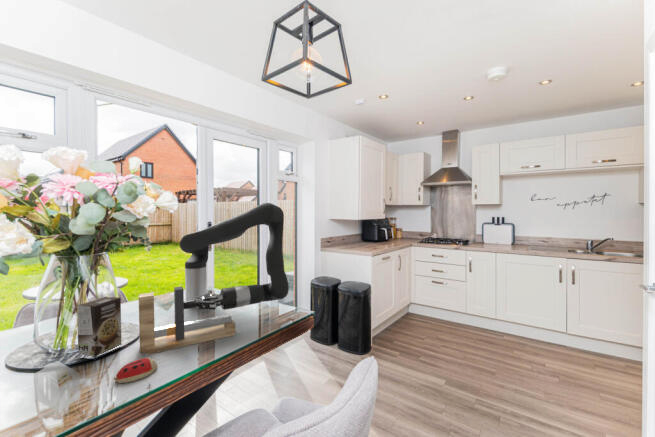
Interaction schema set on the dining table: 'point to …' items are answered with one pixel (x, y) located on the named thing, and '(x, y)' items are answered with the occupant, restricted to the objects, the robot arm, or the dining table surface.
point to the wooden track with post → (169, 342)
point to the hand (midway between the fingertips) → (183, 305)
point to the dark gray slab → (179, 312)
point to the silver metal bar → (193, 325)
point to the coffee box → (99, 326)
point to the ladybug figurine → (136, 370)
